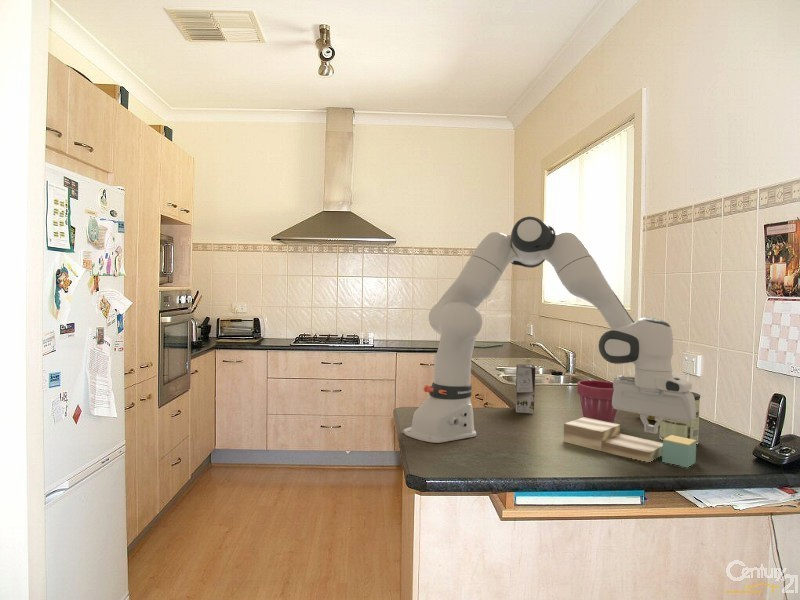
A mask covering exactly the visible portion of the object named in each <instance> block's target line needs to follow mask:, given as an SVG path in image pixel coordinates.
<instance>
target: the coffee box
mask: <svg viewBox="0 0 800 600" xmlns="http://www.w3.org/2000/svg"><path fill="white" fill-rule="evenodd" d="M515 376H516V377H515V413H519V414H531V415H533V414H534V413H535V412H534V411H535V390H536V386H535V385H536V366H535V365H534V364H527V363H526V364H524V363H522V364H519V363H518V364H516V373H515Z"/></svg>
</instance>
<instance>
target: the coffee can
mask: <svg viewBox="0 0 800 600" xmlns="http://www.w3.org/2000/svg"><path fill="white" fill-rule="evenodd" d="M690 392H691V393H692V394H693V396H694V398H695V405H696V418H695V419H694V420H693V421H691V422H689V423H687V422H682V421H676V420H671V419H665V418H663V421H662V423H661V424H660V425H659V437H658V438H659V439H661V441H662V440H663V439H664V438H666V437H668V436H670V435H674V436H679V437H684V438H688V439H693V440H696V444H697V445H699V443H700V442H699V435H700V434H699V429H700V404H701V403H700V402H701V401H700V399H701V394H699V393H696V392H693V391H690Z"/></svg>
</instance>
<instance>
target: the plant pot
mask: <svg viewBox="0 0 800 600" xmlns="http://www.w3.org/2000/svg"><path fill="white" fill-rule="evenodd" d="M576 387H577V389H576V393H577V394H578V395H579V399H580V405H581V411H582V416H583V417H586V418H591V419H596V420H600V421H605V422H610V423H614V422H615V418H616V415H617V411H618V410H617V409H614V408H613V406H612V397H613V392H614V388H613V381H612V382H611V381H605V380H598V379H597V380H593V379H587V380H585V379H583V380H579V381H578V382H577V386H576Z"/></svg>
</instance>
